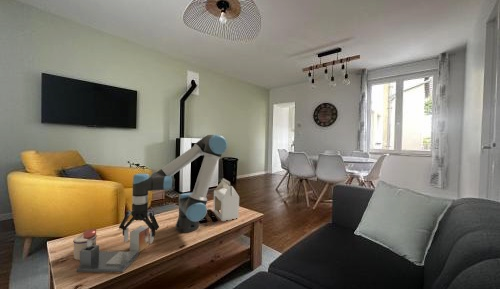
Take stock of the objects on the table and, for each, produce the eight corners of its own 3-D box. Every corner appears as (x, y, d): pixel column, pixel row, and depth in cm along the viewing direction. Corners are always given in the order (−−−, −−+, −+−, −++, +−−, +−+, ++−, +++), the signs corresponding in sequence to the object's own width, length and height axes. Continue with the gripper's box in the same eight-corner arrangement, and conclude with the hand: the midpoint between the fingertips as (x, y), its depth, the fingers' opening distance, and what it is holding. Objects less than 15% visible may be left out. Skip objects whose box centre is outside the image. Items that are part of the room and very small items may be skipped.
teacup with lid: (94, 257, 101) (94, 234, 101) (70, 262, 97) (70, 238, 96) (98, 246, 111) (99, 224, 111) (77, 249, 107) (77, 227, 107)
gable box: (213, 211, 169) (214, 177, 168) (228, 209, 175) (229, 176, 174) (222, 221, 149) (223, 183, 148) (238, 218, 155) (239, 182, 154)
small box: (138, 253, 106) (138, 233, 106) (129, 251, 107) (129, 231, 107) (149, 245, 114) (149, 226, 113) (140, 244, 115) (140, 225, 115)
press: (139, 254, 104) (139, 238, 104) (122, 272, 90) (122, 254, 90) (99, 253, 104) (99, 237, 104) (76, 271, 90) (76, 252, 90)
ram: (98, 250, 96) (98, 229, 96) (90, 256, 92) (91, 233, 91) (88, 250, 96) (88, 228, 96) (80, 256, 92) (80, 233, 91)
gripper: (166, 201, 114) (164, 239, 114) (121, 199, 113) (119, 237, 114) (160, 205, 106) (159, 246, 106) (112, 203, 106) (110, 244, 106)
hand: (138, 241), depth 110 cm, fingers open, 13 cm apart
